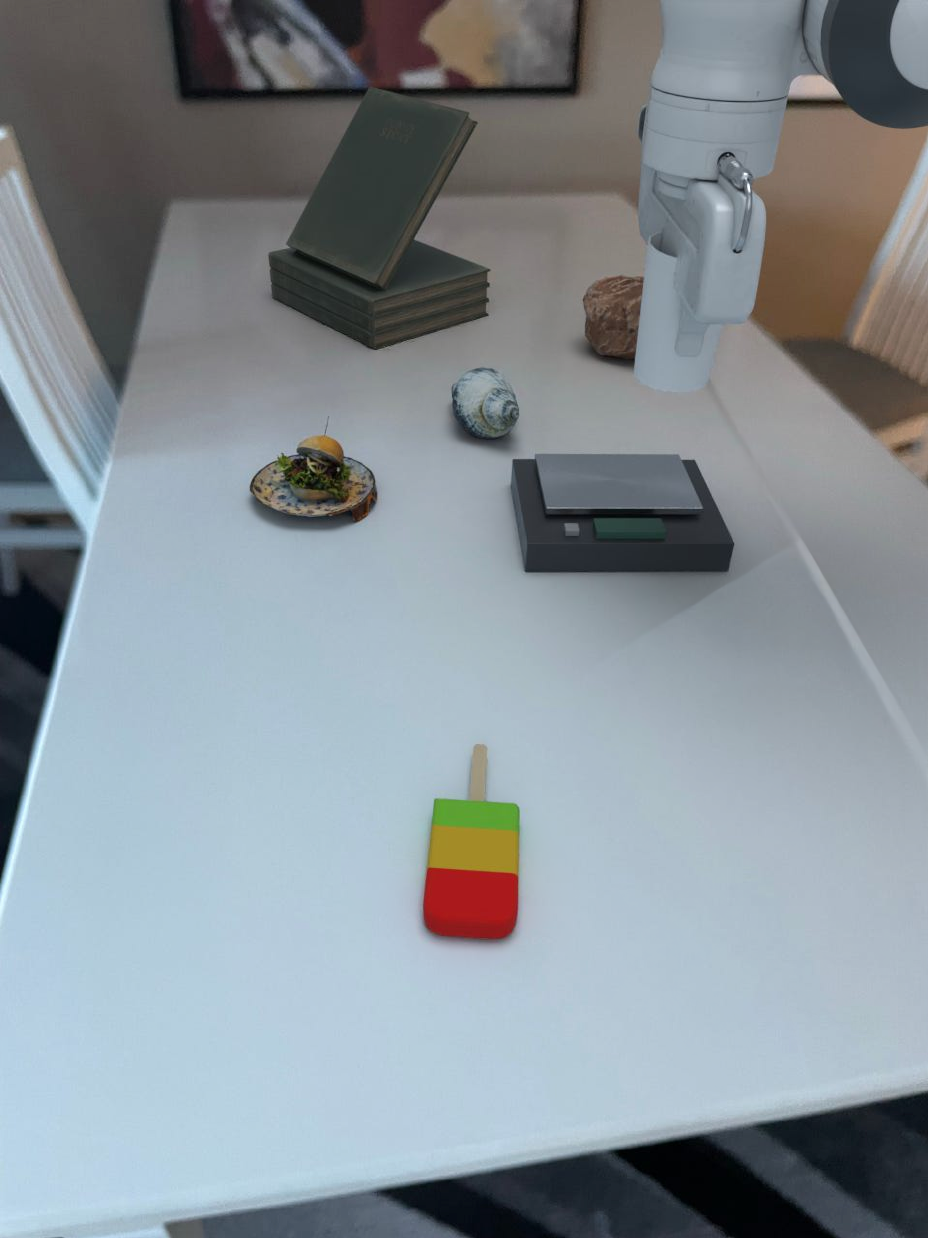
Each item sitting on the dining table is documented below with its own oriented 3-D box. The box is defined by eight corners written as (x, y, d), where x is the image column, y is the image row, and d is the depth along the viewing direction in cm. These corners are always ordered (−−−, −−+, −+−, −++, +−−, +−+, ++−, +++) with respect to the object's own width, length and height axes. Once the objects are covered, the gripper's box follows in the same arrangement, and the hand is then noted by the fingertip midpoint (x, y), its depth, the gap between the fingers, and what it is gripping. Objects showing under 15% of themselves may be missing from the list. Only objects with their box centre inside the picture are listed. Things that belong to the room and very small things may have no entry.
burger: (229, 491, 96) (220, 420, 92) (331, 456, 102) (327, 388, 98) (297, 546, 89) (290, 472, 84) (402, 504, 95) (401, 433, 91)
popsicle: (420, 938, 57) (420, 918, 56) (440, 752, 69) (440, 732, 68) (516, 944, 57) (518, 924, 56) (519, 756, 69) (521, 737, 68)
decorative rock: (692, 347, 128) (706, 268, 122) (668, 379, 120) (682, 297, 114) (595, 328, 132) (604, 251, 126) (566, 358, 124) (574, 277, 118)
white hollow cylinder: (703, 403, 73) (731, 268, 67) (616, 383, 75) (636, 251, 69) (723, 367, 78) (751, 237, 72) (641, 349, 80) (661, 222, 74)
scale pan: (677, 460, 97) (679, 454, 96) (702, 514, 89) (703, 507, 88) (534, 459, 96) (534, 453, 96) (545, 514, 88) (546, 507, 88)
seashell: (505, 417, 114) (501, 467, 104) (447, 388, 112) (437, 436, 103) (532, 370, 110) (530, 417, 101) (472, 340, 109) (464, 384, 99)
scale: (690, 485, 100) (696, 451, 97) (728, 571, 88) (736, 535, 85) (510, 485, 99) (512, 451, 96) (524, 572, 87) (527, 535, 85)
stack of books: (271, 298, 138) (254, 96, 123) (384, 270, 148) (380, 81, 133) (373, 350, 124) (367, 131, 109) (488, 315, 135) (498, 111, 120)
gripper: (808, 178, 58) (758, 398, 67) (718, 107, 74) (687, 291, 83) (702, 177, 58) (665, 398, 66) (634, 105, 74) (612, 290, 82)
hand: (677, 338), depth 75 cm, fingers closed on white hollow cylinder, 4 cm apart
